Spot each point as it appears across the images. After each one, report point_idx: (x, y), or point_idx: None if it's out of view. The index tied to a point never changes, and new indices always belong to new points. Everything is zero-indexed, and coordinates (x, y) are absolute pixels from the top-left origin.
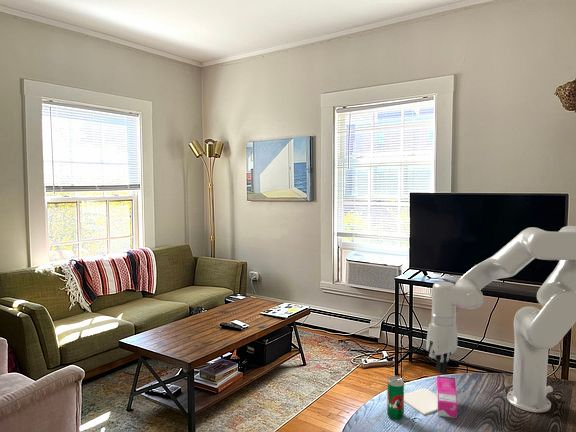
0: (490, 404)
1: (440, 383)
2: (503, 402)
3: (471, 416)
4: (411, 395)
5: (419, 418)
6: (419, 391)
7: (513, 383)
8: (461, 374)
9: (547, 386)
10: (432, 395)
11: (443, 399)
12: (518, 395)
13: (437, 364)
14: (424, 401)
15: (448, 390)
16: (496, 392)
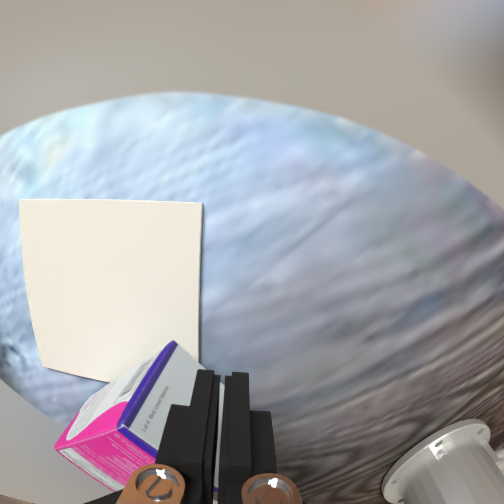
0: (345, 446)
1: (107, 448)
2: (391, 448)
3: None
4: (72, 230)
5: (24, 361)
6: (138, 222)
7: (444, 494)
8: (500, 216)
9: (500, 468)
10: (172, 297)
11: (75, 463)
12: (411, 494)
13: (163, 445)
14: (92, 312)
15: (121, 477)
16: (446, 398)
